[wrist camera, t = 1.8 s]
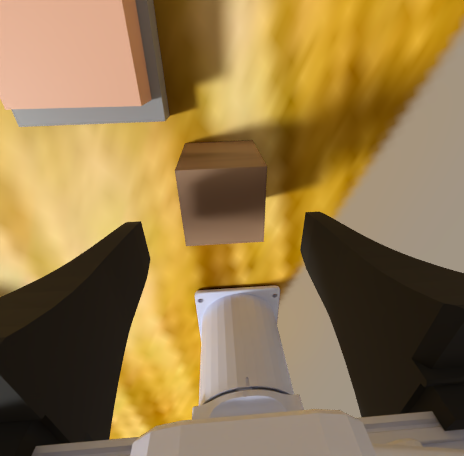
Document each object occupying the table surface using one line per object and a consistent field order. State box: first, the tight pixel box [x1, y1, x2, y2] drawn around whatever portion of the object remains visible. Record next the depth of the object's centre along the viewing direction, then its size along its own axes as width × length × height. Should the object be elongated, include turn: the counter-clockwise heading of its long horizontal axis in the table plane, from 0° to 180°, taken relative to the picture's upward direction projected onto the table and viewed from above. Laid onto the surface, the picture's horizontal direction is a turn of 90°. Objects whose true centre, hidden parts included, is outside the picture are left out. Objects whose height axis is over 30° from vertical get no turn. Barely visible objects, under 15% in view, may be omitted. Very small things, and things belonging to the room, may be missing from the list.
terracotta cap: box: [0, 0, 152, 110], centre depth 11 cm, size 6×6×2 cm
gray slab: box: [11, 0, 170, 127], centre depth 13 cm, size 8×8×2 cm
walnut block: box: [175, 140, 267, 246], centre depth 16 cm, size 4×4×6 cm
